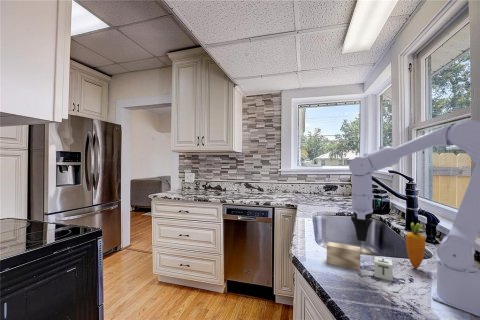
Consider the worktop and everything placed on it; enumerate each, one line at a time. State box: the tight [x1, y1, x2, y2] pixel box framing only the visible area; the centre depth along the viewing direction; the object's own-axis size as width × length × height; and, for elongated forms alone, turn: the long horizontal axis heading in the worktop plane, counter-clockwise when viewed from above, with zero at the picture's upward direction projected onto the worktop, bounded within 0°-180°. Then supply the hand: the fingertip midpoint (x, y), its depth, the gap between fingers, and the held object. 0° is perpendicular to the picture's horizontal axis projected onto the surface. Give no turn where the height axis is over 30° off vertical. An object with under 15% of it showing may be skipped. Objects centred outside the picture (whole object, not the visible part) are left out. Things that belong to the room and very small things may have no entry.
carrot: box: [405, 222, 426, 270], centre depth 71 cm, size 5×5×15 cm
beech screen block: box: [326, 241, 361, 271], centre depth 74 cm, size 10×4×6 cm, turn 60°
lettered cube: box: [373, 256, 394, 281], centre depth 67 cm, size 4×5×5 cm
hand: (362, 237), depth 71 cm, fingers open, 7 cm apart
